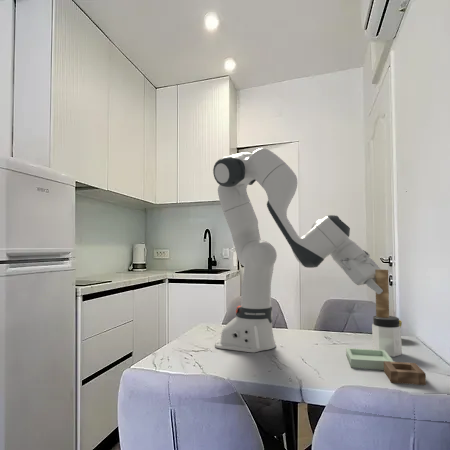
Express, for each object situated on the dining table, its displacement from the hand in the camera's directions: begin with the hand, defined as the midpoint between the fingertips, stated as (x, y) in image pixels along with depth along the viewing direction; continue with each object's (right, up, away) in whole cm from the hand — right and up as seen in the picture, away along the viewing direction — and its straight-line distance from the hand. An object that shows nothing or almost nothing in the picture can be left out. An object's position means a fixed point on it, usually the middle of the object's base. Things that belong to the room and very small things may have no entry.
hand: (384, 292), depth 104 cm
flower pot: (+17, -25, +34) cm, 45 cm away
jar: (+8, -24, +14) cm, 29 cm away
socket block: (+1, -22, -9) cm, 24 cm away
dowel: (-1, -7, 0) cm, 7 cm away
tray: (-3, -23, +4) cm, 23 cm away
